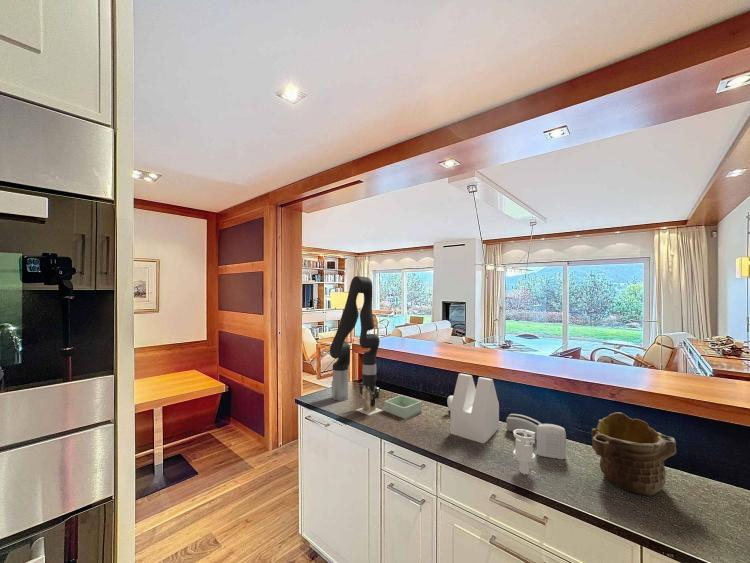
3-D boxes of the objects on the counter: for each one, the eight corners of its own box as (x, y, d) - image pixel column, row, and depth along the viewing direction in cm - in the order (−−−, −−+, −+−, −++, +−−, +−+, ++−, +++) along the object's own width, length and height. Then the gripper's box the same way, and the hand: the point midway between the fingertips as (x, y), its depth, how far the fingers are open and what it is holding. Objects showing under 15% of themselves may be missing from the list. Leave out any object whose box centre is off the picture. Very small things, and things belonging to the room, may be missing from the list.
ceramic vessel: (673, 498, 90) (611, 408, 105) (602, 511, 107) (557, 431, 122) (713, 477, 100) (651, 397, 114) (642, 492, 117) (596, 420, 131)
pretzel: (458, 419, 163) (458, 401, 163) (440, 411, 173) (440, 394, 173) (473, 414, 170) (473, 397, 170) (455, 407, 180) (455, 391, 180)
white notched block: (467, 420, 163) (467, 369, 164) (498, 428, 154) (498, 375, 154) (450, 433, 148) (450, 378, 148) (484, 444, 139) (484, 384, 139)
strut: (362, 409, 173) (362, 387, 173) (369, 407, 176) (369, 385, 176) (369, 412, 169) (369, 389, 169) (375, 410, 173) (376, 387, 173)
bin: (383, 412, 172) (384, 401, 172) (401, 405, 182) (401, 394, 182) (404, 420, 162) (404, 408, 162) (421, 412, 172) (421, 401, 172)
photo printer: (564, 455, 129) (564, 424, 129) (567, 461, 125) (567, 428, 125) (535, 451, 132) (535, 420, 132) (537, 456, 128) (537, 425, 128)
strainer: (533, 480, 113) (533, 436, 113) (511, 473, 116) (511, 431, 117) (536, 470, 119) (535, 428, 119) (515, 464, 122) (515, 424, 123)
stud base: (355, 411, 173) (355, 396, 173) (369, 406, 180) (369, 392, 180) (368, 417, 166) (368, 401, 166) (382, 412, 173) (382, 396, 173)
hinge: (548, 439, 143) (545, 419, 141) (544, 446, 140) (541, 426, 138) (511, 426, 155) (507, 408, 153) (506, 432, 152) (503, 414, 150)
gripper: (355, 371, 175) (354, 402, 175) (373, 376, 165) (373, 410, 165) (365, 368, 181) (365, 399, 180) (384, 373, 170) (383, 406, 170)
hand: (369, 404), depth 173 cm, fingers closed on strut, 5 cm apart
